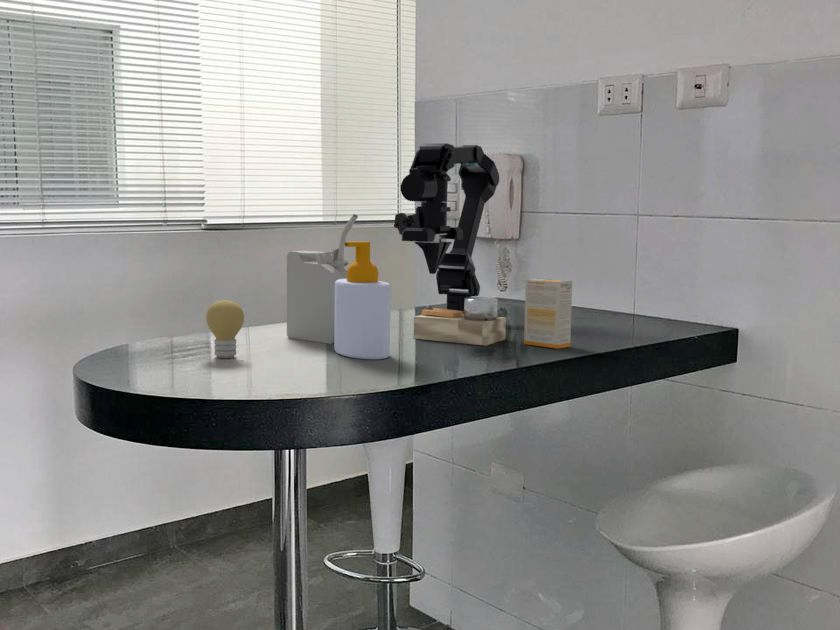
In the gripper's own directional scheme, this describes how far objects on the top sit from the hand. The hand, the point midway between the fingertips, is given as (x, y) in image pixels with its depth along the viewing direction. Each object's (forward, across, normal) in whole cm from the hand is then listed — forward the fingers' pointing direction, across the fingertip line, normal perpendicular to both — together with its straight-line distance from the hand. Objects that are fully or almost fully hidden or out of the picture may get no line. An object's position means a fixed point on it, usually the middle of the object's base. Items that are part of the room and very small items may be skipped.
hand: (432, 273), depth 195 cm
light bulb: (+12, +54, -13) cm, 57 cm away
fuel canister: (+12, +28, -10) cm, 32 cm away
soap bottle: (+12, +38, +5) cm, 40 cm away
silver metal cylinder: (+12, +11, +16) cm, 23 cm away
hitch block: (+12, +11, +12) cm, 20 cm away
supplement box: (+12, +9, +30) cm, 34 cm away
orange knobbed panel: (+7, +11, +8) cm, 15 cm away
